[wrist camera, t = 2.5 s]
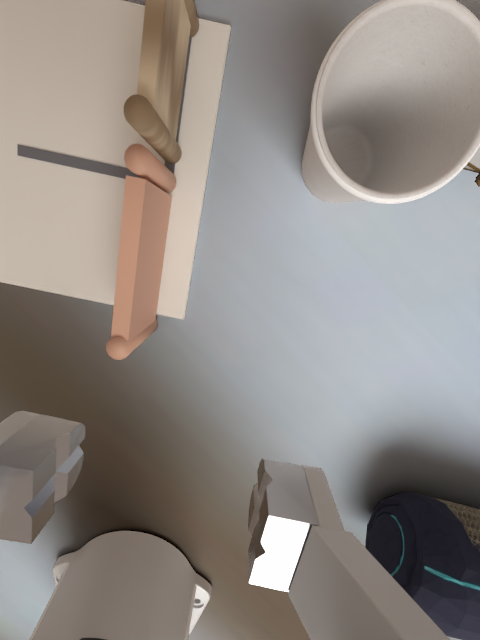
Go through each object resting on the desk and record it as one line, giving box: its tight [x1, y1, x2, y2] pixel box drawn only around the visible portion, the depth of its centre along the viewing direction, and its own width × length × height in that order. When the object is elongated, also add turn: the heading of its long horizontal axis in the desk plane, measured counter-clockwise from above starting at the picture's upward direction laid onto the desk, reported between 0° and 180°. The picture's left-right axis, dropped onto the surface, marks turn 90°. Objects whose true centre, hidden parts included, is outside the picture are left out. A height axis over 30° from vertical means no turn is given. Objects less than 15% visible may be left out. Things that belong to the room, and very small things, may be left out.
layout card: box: [0, 0, 231, 320], centre depth 23 cm, size 22×18×1 cm
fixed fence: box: [123, 0, 199, 164], centre depth 18 cm, size 10×2×7 cm, turn 168°
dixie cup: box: [302, 0, 480, 204], centre depth 18 cm, size 8×8×10 cm
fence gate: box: [106, 144, 176, 360], centre depth 21 cm, size 14×2×6 cm, turn 168°
